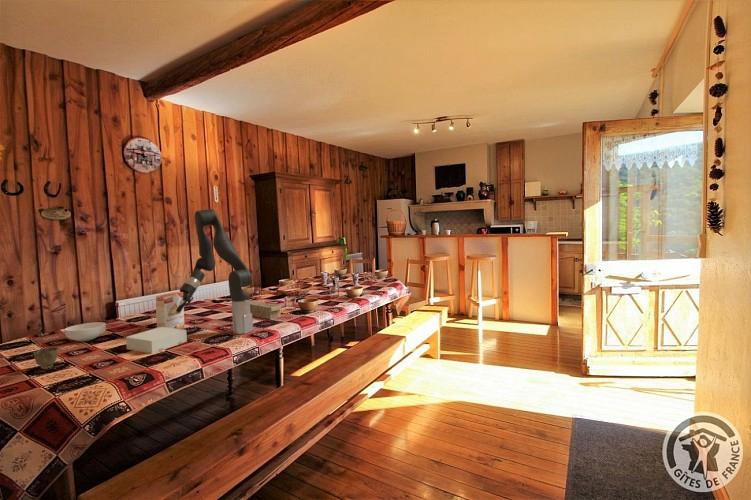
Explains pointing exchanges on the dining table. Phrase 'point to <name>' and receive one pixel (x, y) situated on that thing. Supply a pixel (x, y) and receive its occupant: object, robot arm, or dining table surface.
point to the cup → (46, 357)
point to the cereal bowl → (85, 331)
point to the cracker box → (169, 311)
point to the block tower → (265, 310)
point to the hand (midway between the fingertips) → (173, 311)
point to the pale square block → (156, 339)
